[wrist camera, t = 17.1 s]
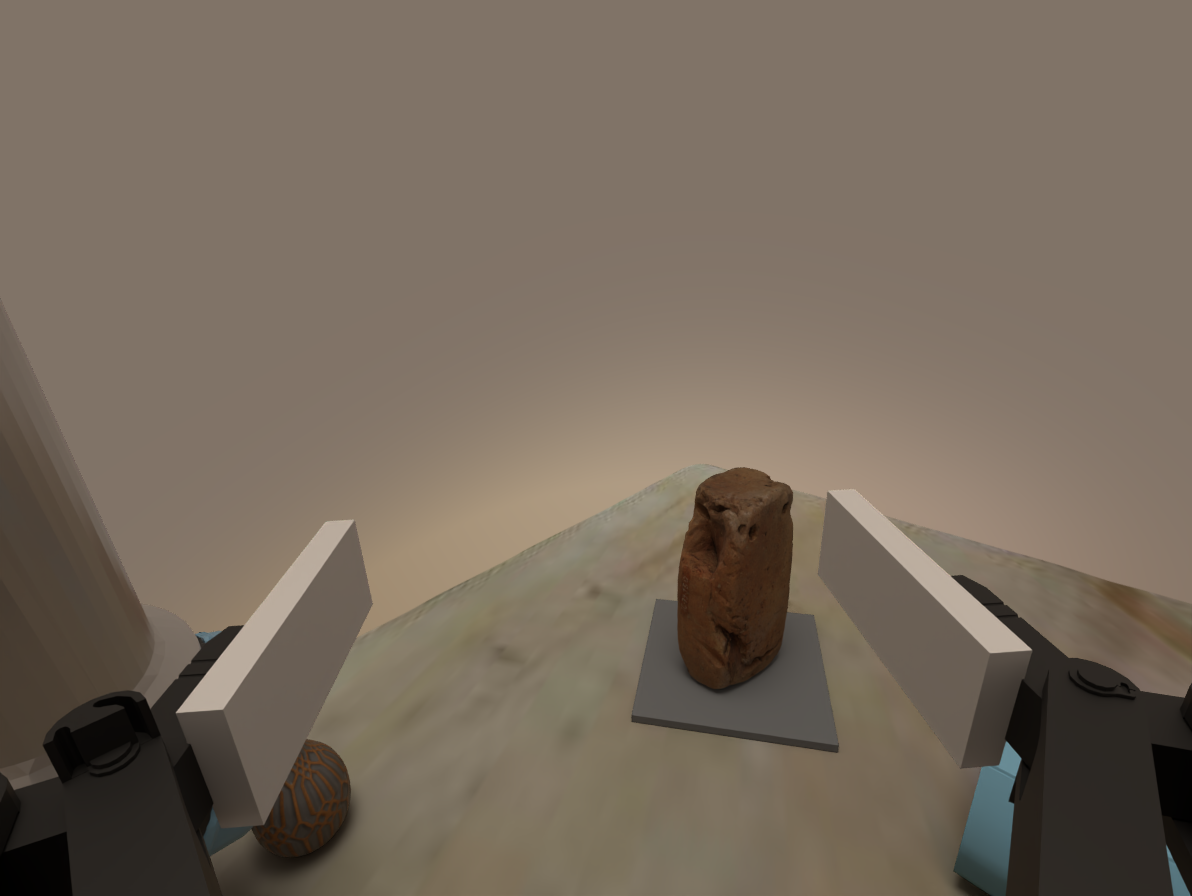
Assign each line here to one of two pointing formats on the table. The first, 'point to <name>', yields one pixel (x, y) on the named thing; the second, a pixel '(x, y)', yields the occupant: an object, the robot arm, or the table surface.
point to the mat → (739, 689)
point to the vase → (307, 803)
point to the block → (735, 577)
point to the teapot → (1003, 831)
